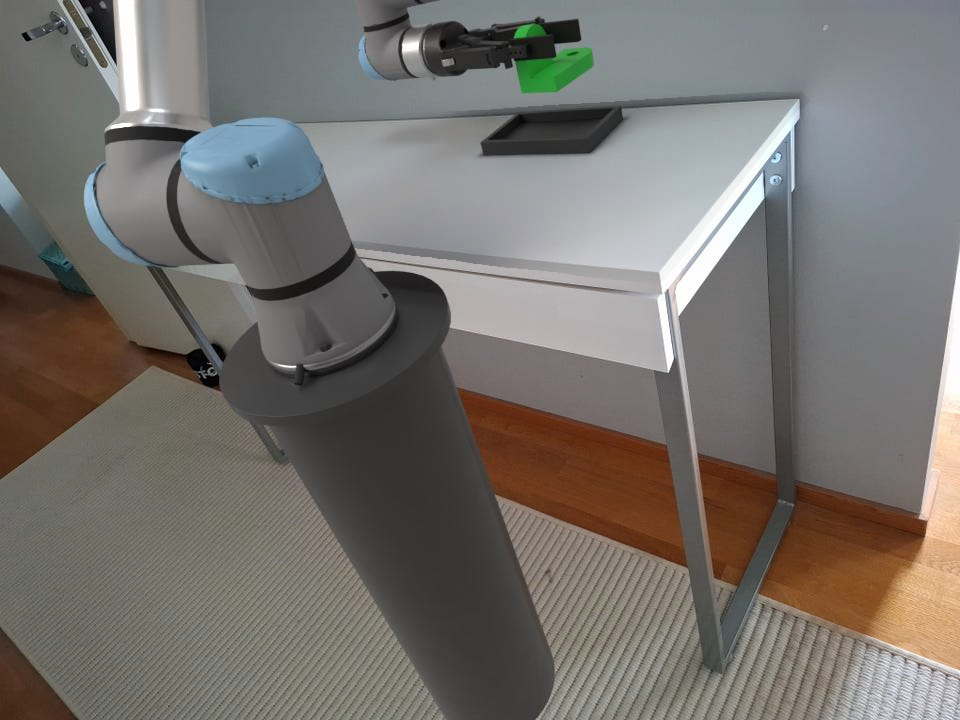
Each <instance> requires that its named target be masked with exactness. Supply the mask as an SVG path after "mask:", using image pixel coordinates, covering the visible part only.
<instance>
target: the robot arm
mask: <svg viewBox="0 0 960 720" xmlns="http://www.w3.org/2000/svg"><path fill="white" fill-rule="evenodd" d="M353 1H354V4H355V7H356V10H357V14H358V16H359V20H360V22H361V25H362V28H363V33H364V35H363V36H362V37H361V39H360V40H359V43H358V55H357V56H358V61H359V64H360V67H361V69H362V70H363V72H364V73H365V74H366V75H367V76H368V77H370V78H372V79H374V80H377V81H378V80H379V81H380V80H381V81H389V82H391V81H392V82H394V81H395V82H396V81H400V80H410V79H425V78H429V80H430V81H436V80H437V78H439V77H441V78H446V77H459V76H461V75H463V74H465V73H466V72H467V71H468V70H485V69H488V70H489V69H498V68H499V67H500V66H501V64H504V69H505V70H508V69H512V68H513V67H514V65H513V61H514V62H515V61H523V60H537V59H550V58H555V57H556V56H557V55H556V54H557V51H556V45H558V44H560V45H561V44H572V43H579V42H581V41H582V35H581V33H582V32H581V26H580V21H579V20H580V19H579V18H572V19H565V20H564V19H563V20H554V21H547V22H546V19H545V18H541V16H537V17H535V18H534V19H530V20H523V21H516V22H510V23H509V22H507V23H493V24H491V25H490V27H488V28H483V29H482V28H474V29H470V30H468V29H467V28H466V27H465V25H464V24H462V23H461V22H459V21H456V20H450V21H442V22H431V23H424V24H416V25H412V22H411V19H410V14H409V11H408V8H412V7H416V6H420V5H425V4H429V3H433V2H439V1H440V0H353ZM112 6H113V21H114V22H113V23H114V24H113V25H114V39H115V55H116V57H115V58H116V71H117V88H118V90H117V91H118V105H119V116H118V117H116V118H115V120H113V121H112V122H111V123H110V124H108V125H107V126H106V127H105V129H104V133H103V134H104V148H105V161H104V162H102V163H100V164H99V165H98V166H97V167H95V169H94V171H93V172H92V173H91V174H90V175H89V176H88V178H87V180H86V182H85V185H84V191H83V205H84V209H85V214H86V217H87V220H88V222H89V225H90V227H91V229H92V230H93V232H94V234H95V235H96V237H97V238H98V239H99V241H100V242H101V243H102V244H104V245H105V246H106V247H107V248H108V249H109V250H110V251H111V252H112V253H113V254H114V255H116V256H117V257H119V258H120V259H122V260H124V261H126V262H129V263H131V264H134V265H138V266H144V267H155V268H160V269H163V268H168V269H175V268H179V267H184V266H186V267H187V266H205V265H206V266H207V265H209V266H211V265H228V264H234V265H235V267H236V269H237V271H238V273H239V275H240V276H241V278H242V280H243V283H244V285H246V287H247V290H248V291H249V294H250V295H251V297H252V299H253V302H254V309H255V316H256V322H258V328H259V334H260V339H261V341H260V342H261V348H262V352H263V354H264V356H265V358H266V360H267V362H268V363H269V365H270V367H271V368H272V370H274V371H275V372H276V373H277V374H280V375H282V376H285V377H289V378H295V379H294V384H295V385H298V386H302V385H303V382H304V378H313V377H319V376H324V375H327V374H331V373H334V372H337V371H340V370H342V369H345V368H347V367H349V366H351V365H354V364H355V363H357V362H359V361H361V360H363V359H364V358H366V357H367V356H369V355H370V354H372V353H373V352H374V351H376V350H377V349H378V348H379V347H380V346H382V345H383V344H384V343H385V342H386V341H387V339H388V338H389V337H390V336H391V334H392V333H393V331H394V330H395V328H396V326H397V323H398V317H399V315H398V310H397V307H396V305H395V302H394V300H393V297H392V295H391V294H390V293H389V291H388V290H387V289H386V288H385V287H384V286H383V284H382V283H381V282H380V281H379V280H378V279H377V277H376V276H375V275H377V274H376V273H375V272H376V271H375V270H374V269H373V268H372V267H369V266H368V265H366V263H364V261H363V260H362V259H361V258H360V257H359V255H358V252H357V251H356V248H355V246H354V243H353V241H352V238H351V236H350V233H349V230H348V228H347V226H346V222H345V221H344V218H343V216H342V213H341V210H340V207H339V206H338V202H337V199H336V198H335V195H334V192H333V190H332V187H331V184H330V182H329V180H328V178H327V175H326V172H325V167H324V165H323V162H322V161H321V158H320V157H319V156H318V154H317V153H316V151H315V149H314V147H313V145H312V142H311V141H310V139H309V136H308V135H307V134H306V132H305V131H304V130H303V129H302V128H301V126H299V125H298V124H296V123H294V122H292V121H291V120H287V119H284V118H280V117H268V116H267V117H253V118H244V119H239V120H237V121H236V122H232V123H228V122H227V123H223V124H219V125H216V126H213V124H212V123H211V110H210V91H209V71H208V48H207V29H206V9H205V8H206V7H205V0H112ZM533 24H538V25H540V26H541V27H542V28H543V29H544V31H545V33H546V35H541V36H531V37H521V38H514V36H515V33H516V31H517V30H518V28H519V27H521V26H524V25H533ZM374 274H375V275H374Z"/></svg>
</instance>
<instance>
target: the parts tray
mask: <svg viewBox="0 0 960 720" xmlns="http://www.w3.org/2000/svg"><path fill="white" fill-rule="evenodd" d="M623 120H624V116H623V107H622V105H610V106H595V107H594V106H593V107H580V108H562V109H548V110H545V109H544V110H532V111H518V112H517V113H515V114H514V115H513V116H511V117H510V118H509V119H507V120H506V121H505V122H504V123H502V124H501V125H500V126H499V127H498V128H497V129H495V130H493V132H492V133H490V134H489V135H487V136H486V137H485V138H484V139H482V141H480V146H481V151H482V154H483V156H498V155H499V156H502V155H504V156H505V155H506V156H507V155H544V154H545V155H549V154H587V153H588V154H591V152H592V151H593V150H594V149H595V148H596V147H597V146H598V145H599V144H600V143H601V142H602V141H603V140H604V139H605V138H606V137H607V136H608V135H609V134H610V133H611V132H612V131H613V130H614V129H615V128H616V127H617V126H618V125H619V124H620V123H621V122H622V121H623Z"/></svg>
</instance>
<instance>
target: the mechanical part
mask: <svg viewBox="0 0 960 720" xmlns="http://www.w3.org/2000/svg"><path fill="white" fill-rule="evenodd" d="M541 35H546V33H545V31H544V29H543V28H542V27H541V26H540V25H538V24H533V25H524V26H521V27H519V28H518V30H517V31H516V33H515V36H514V38H521V37H531V36H541ZM556 55H557V56H556V57H555V58H550V59H537V60H523V61H514V63H515V68H516V73H517V77H518V82H519V87H520V91H521V92H520V93H521V94H540V93H541V94H543V93H544V94H545V93H559V92H560V91H561V90H562V89H564V88H565V87H567V86H568V85H569V84H571V83H573V81H575V80H577V79H578V78H579V77H581V76H582V75H584V74H585V73H586V72H588V71H589V70H590V69H592V68H593V67H595V60H594V55H593V48H591V47H588V46H587V47H585V46H584V47H574V48H573V47H572V48H564V49H562V50H561V51H559V52H558V53H556Z"/></svg>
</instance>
